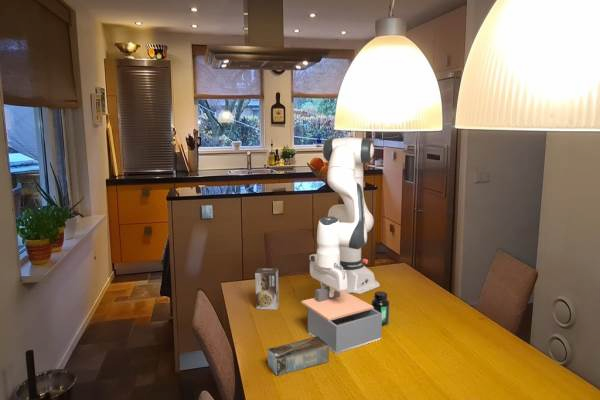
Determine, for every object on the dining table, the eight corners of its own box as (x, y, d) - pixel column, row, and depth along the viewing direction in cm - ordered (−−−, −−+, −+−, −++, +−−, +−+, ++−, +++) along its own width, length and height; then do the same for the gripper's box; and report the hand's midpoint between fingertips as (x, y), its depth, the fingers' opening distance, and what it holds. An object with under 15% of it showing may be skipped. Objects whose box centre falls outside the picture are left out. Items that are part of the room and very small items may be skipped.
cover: (344, 292, 178) (344, 281, 177) (373, 308, 163) (373, 296, 162) (301, 302, 168) (301, 290, 167) (328, 321, 153) (328, 307, 152)
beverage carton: (266, 364, 145) (266, 346, 143) (318, 351, 153) (318, 333, 152) (276, 377, 138) (276, 357, 136) (330, 362, 146) (330, 344, 145)
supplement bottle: (387, 327, 170) (388, 297, 168) (369, 324, 173) (370, 295, 170) (389, 320, 177) (391, 291, 175) (372, 317, 179) (373, 289, 177)
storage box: (350, 320, 176) (351, 296, 174) (381, 339, 161) (382, 313, 159) (307, 332, 166) (307, 307, 164) (336, 354, 151) (336, 326, 149)
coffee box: (279, 304, 192) (279, 268, 189) (276, 310, 186) (276, 273, 183) (258, 303, 193) (257, 267, 190) (255, 309, 187) (254, 272, 184)
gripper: (352, 266, 161) (351, 302, 163) (320, 252, 178) (320, 285, 180) (337, 269, 157) (337, 306, 160) (307, 254, 175) (306, 288, 177)
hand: (327, 294), depth 170 cm, fingers closed on cover, 2 cm apart
